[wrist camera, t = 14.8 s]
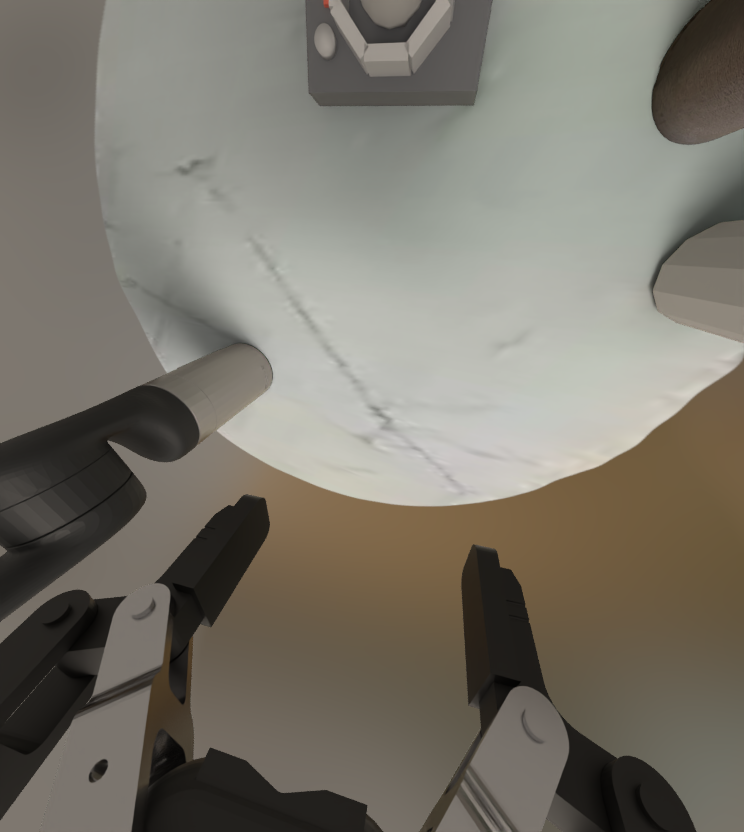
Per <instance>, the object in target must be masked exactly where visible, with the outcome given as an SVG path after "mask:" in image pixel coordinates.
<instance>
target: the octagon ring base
mask: <svg viewBox="0 0 744 832" xmlns="http://www.w3.org/2000/svg"><path fill="white" fill-rule="evenodd" d="M492 1H493V0H422V2H421V4H420V6H419V9H418V10H417V11H416V12H415V13H414V15H413V16H412V17H411V18H410V19H409V21H408V23H407V24H406V26H405V27H396V28H393V29H390V30H389V29H386V28H384V27H381V26H378V25H375V23H374V22H373V21H372V19H371V18H370V16H369V15H368V14H367V12H366V11H365V10H364V8H363V6H362V3H361V0H306V26H307V55H308V83H309V94H310V95H311V96H312V97H313V98H314V99H315V101H316V102H317V103H318V104H319V105H320V106H429V105H474V102H475V98H476V93H477V87H478V82H479V76H480V70H481V64H482V58H483V53H484V47H485V41H486V35H487V29H488V24H489V18H490V12H491V6H492Z"/></svg>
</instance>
